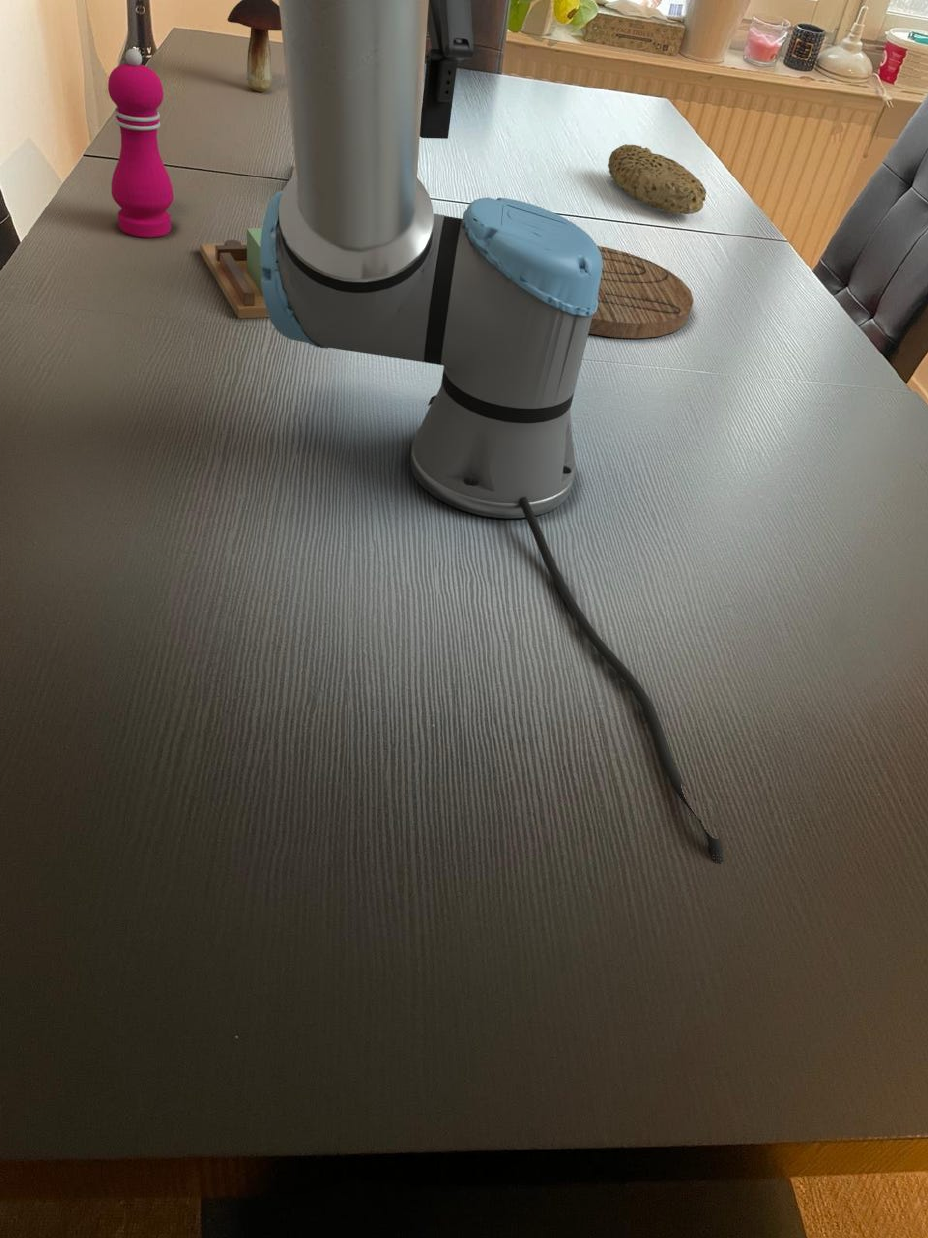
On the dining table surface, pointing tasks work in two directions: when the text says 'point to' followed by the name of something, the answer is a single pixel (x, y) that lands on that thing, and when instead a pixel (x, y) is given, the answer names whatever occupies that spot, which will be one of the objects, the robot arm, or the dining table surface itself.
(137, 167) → the pepper mill
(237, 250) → the wooden tray
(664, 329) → the trivet
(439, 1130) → the dining table surface
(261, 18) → the decorative mushroom
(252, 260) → the green block
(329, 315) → the robot arm
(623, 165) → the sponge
